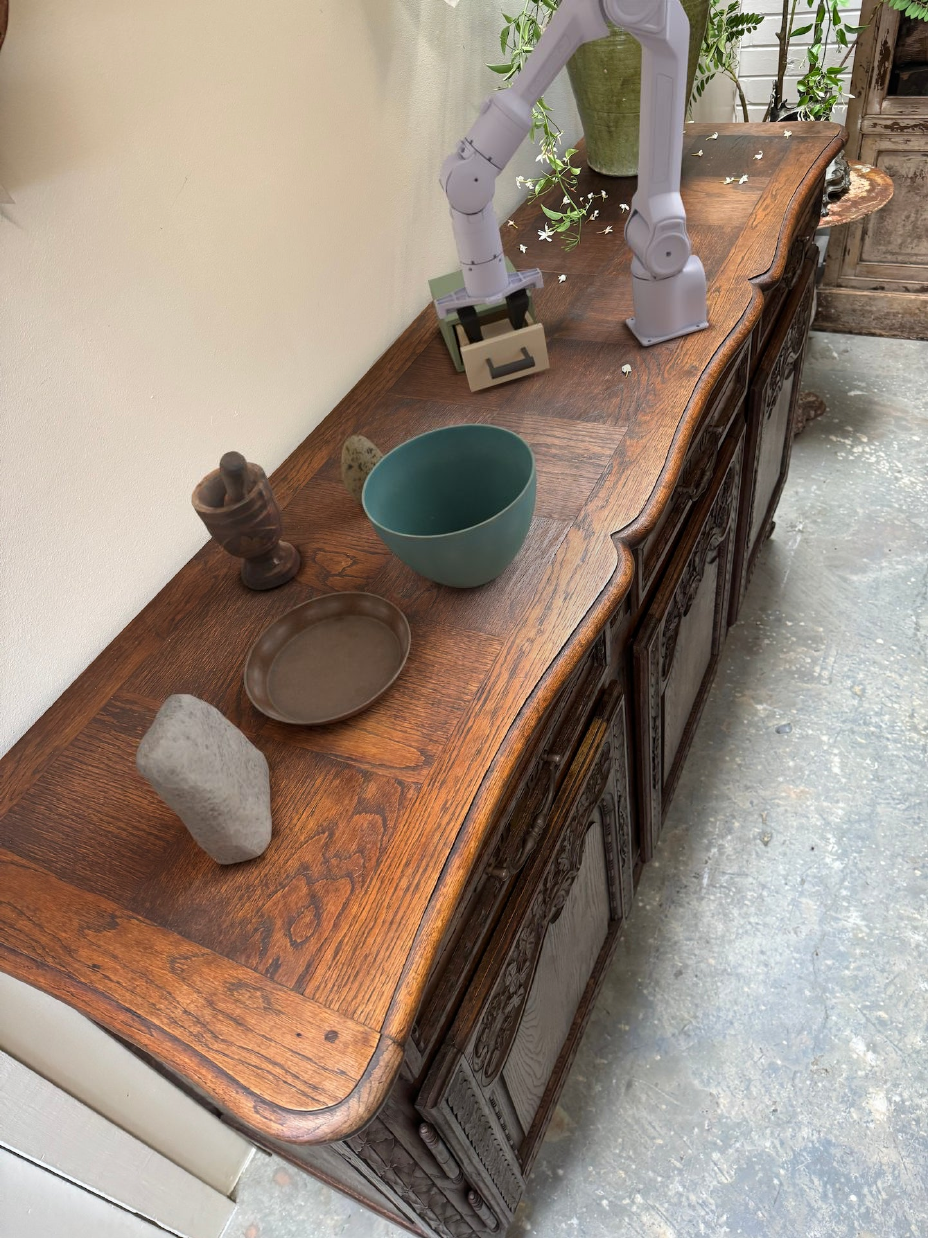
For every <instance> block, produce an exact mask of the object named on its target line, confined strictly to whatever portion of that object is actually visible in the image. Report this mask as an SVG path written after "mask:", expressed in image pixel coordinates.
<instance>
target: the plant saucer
mask: <svg viewBox="0 0 928 1238" xmlns="http://www.w3.org/2000/svg"><path fill="white" fill-rule="evenodd" d="M411 640H412V633H411V628H410V624H409V622H408V619H407V618H406V616H405V614H404V613H403V611H402V610H401V609H400V608H399V607H398V606H397V605H396V604H394V603H393V602H392V601H390V600H388V599H386V598H385V597H383V596H380V595H377V594H375V593H370V592H366V591H365V592H364V591H341V592H333V593H328V594H324V595H321V596H318V597H314V598H311V599H308V600H306V601H304V602H302V603H300V604H298V605H296V606H294V607H292V608H290V609H289V610H287V611H286V612H284V613H282V614H281V615H280V616H279V617H278V618H277V619H275V620H274V621H273V622H272V623H270V624H269V626H268V627H266V628H265V630H263V631H262V633H261V634H260V635H259V637H258V638H257V639H256V641H255V643H254V644H253V646H252V647H251V649H250V651H249V653H248V655H247V658H246V662H245V664H244V665H245V666H244V669H243V684H244V689H245V692H246V695H247V697H248V699H249V701H250V703H251V704H252V705H253V706H254V707H255V708H256V709H257V710H258V711H260V712H261V713H262V714H264V715H265V716H267V717H269V718H271V719H274V720H276V721H279V722H282V723H285V724H291V725H296V726H322V725H328V724H334V723H338V722H341V721H345V720H348V719H349V718H352V717H354V716H356V715H358V714H360V713H362V712H363V711H365V710H367V709H369V708H370V707H371V706H373V705H374V704H375V703H376V702H377V701H379V700H380V699H381V698H382V697H383V696H384V695H385V694H386V693H387V692H388V690H390V688H391V687H392V685H393V684H394V683H395V682H396V680H397V678H398V677H399V676H400V674H401V672H402V670H403V669H404V666H405V664H406V662H407V659H408V657H409V653H410V649H411V644H412V643H411V642H412V641H411Z"/></svg>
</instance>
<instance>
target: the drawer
mask: <svg viewBox="0 0 928 1238" xmlns="http://www.w3.org/2000/svg"><path fill="white" fill-rule="evenodd" d="M507 318H508V319H509V321H510V316H509V312H508V308H506V309H503V310H499V311H496V312H493V313H490V314H487V315H483V316H480V317H479V321H480V327H482V326H485V325H488V324H491V323H495V322H498V321H501V320H504V319H507ZM452 326H453V330H454V334H455V338H456V342H457V346H458V348H459V350H460V353H461V355H462V358H463V362H464V366H465V373H466V377H467V382H468V386H469V390H470V392H471V393H474V392H477V391H480V390H483V389H486V388H489V387H492V386H496V385H499V384H502V383H505V382H509V381H511V380H515V379H519V378H522V377H525V376H527V375H531V374H535V373H537V372H540V371H544V370H548V369H550V362H549V355H548V350H547V343H546V342H547V341H546V337H545V335H546V334H545V329H544V326H543V324H542V322H539V323H536V324H535V325H534V322H533V320H532V318H531V317H530V315H529V313H528V311H527V312H526V315H525V318H524V322H523V328H522V329H519V330H516V331H513V332H510V333H506V334H503V335H500V336H497V337H493V338H490V339H487V340H484V341H481V342H477V343H476V341H475V340H474V338H473V337H472V335H471V334H470V333H469V331H468V330H467V329H466V328H465V327H464V325H463V324H462V323H458V324H454V325H452Z"/></svg>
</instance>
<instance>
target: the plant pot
mask: <svg viewBox="0 0 928 1238" xmlns="http://www.w3.org/2000/svg"><path fill="white" fill-rule="evenodd" d="M383 456H384V457H383V458H382V459H381V460H380V461H379V462H378V463H377V464H376V465H375V467H374V468H373V469H372V471H371V472H370V474H369V475H368V477H367V479H366V481H365V483H364V486H363V491H362V504H363V506H362V507H363V510H364V512H365V514H366V517H367V519H368V520H369V522H370V524H371V526H372V528H373V529H374V531H375V533H376V534H377V536H378V537H379V539H380V540H381V541H382V543H384V545H385V546H386V547H387V548H388V550H389V551H390V552H392V554H393V555H394V556H395V557H396V558H397V559H398V560H400V561H401V563H403V564H404V565H405V566H407V567H408V568H409V569H411V570H412V571H414V572H415V573H417V574H418V575H420V576H422V577H424V578H426V579H428V580H431V581H433V582H436V583H438V584H440V585H444V586H448V587H452V588H458V589H470V588H476V587H479V586H480V587H481V586H483V585H485V584H488V583H490V582H491V581H493V580H495V579H496V578H497V577H499V576H500V575H501V574H503V572H505V570H506V569H507V568H508V567H509V566H510V565H511V563H512V562H513V561H514V560H515V558H516V557H517V555H518V554H519V552H520V550H521V548H522V547H523V545H524V543H525V541H526V538H527V536H528V533H529V531H530V529H531V525H532V521H533V518H534V512H535V507H536V501H537V486H538V485H537V484H538V483H537V478H538V477H537V466H536V460H535V455H534V453H533V450H532V448H531V446H530V444H529V443H528V442H527V441H526V440H525V439H524V438H523V437H521V436H520V435H518V434H517V433H516V432H514V431H511V430H510V429H507V428H504V427H501V426H496V425H491V424H485V423H484V424H483V423H465V424H455V425H448V426H444V427H440V428H436V429H433V430H430V431H427V432H423V433H422V434H419V435H417V436H414V437H412V438H409V439H408V440H406V441H404V442H402V443H401V444H399V445H397V446H396V447H395V448H393V449H392V450H391V451H388V453H386V454H385V455H383Z"/></svg>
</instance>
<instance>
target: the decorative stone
mask: <svg viewBox="0 0 928 1238" xmlns="http://www.w3.org/2000/svg"><path fill="white" fill-rule="evenodd" d="M134 762H135V767H136V769H137V771H138V773H139V774H140V776H141V777H142V778H144V779H145V780H146V781H147V782H148V783H149V785H150V786H151V787H152V789H153V790H154V791H155V792H156V794H157V795H158V796H159V798H161V800H162V801H163V802H164V803H165V804H166V805H167V806H168V808H169V809H171V810H172V811H173V812H174V813H175V814H176V815H177V816H178V818H179V819H180V820H181V821H182V823H183V825H184V826H185V828H186V829H187V831H188V832H189V833H190V835H191V836H192V838H193V840H194V841H195V842H196V844H197V846H199V847H200V848H201V849H202V850H203V851H205V853H207V854H208V855H209V857H210V858H211V859H213V860H214V859H220V860H214V861H215V862H216V863H217V864H218V865H231V864H237V863H242V862H245V861H249V860H253V859H255V858H257V857H259V856H261V855H262V854H263V853H264V852H265V850H266V849H267V848H268V847H269V845H270V843H271V840H272V831H273V830H272V829H273V828H272V827H273V818H272V811H271V787H270V786H271V785H270V769H269V764H268V762H267V759H266V757H265V755H264V753H263V752H262V751H261V750H259V749H258V748H257V747H256V746H255V745H254V744H253V743H252V742H251V741H250V739H248V738H247V737H246V735H245V734H244V733H243V732H242V731H241V730H240V729H239V728H238V727H236V726H235V725H234V724H233V723H232V722H231V721H230V720H229V719H228V718H226V717H225V715H223V714H222V712H221V711H219V710H218V709H217V708H216V707H215V706H213V705H212V704H210V703H208V702H206V701H205V700H203V699H200V698H199V697H196V696H194V695H192V694H188V693H180V694H179V693H178V694H176V693H174V694H171V695H170V696H168V697H167V698H166V699H165V701H164V702H163V703H162V705H161V706H160V708H159V710H158V711H157V712H156V715H155V718H154V721H153V722H152V724H151V726H150V727H149V728H148V730H147V731H146V733H145V734H144V735H143V737H142V738H141V741H140V742H139V745H138V747H137V750H136V754H135V761H134ZM221 859H222V860H221ZM224 859H227V860H224Z"/></svg>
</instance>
